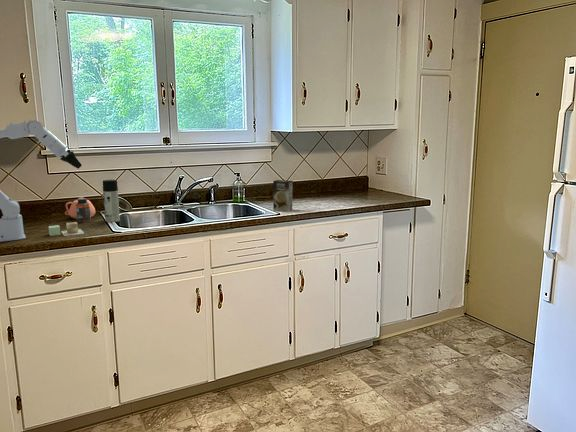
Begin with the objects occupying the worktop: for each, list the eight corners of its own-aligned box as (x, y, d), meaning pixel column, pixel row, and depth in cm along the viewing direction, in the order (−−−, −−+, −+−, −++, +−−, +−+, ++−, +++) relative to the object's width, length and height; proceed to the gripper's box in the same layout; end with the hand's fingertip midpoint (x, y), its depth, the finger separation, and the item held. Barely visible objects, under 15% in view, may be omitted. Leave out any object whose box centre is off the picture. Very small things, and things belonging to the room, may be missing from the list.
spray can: (105, 220, 234) (101, 179, 230) (119, 219, 236) (116, 179, 232) (105, 223, 228) (102, 181, 224) (120, 222, 230) (117, 180, 226)
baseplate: (64, 236, 201) (63, 235, 201) (61, 232, 210) (61, 230, 210) (84, 234, 205) (84, 233, 205) (81, 230, 214) (80, 228, 214)
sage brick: (50, 237, 201) (49, 228, 201) (49, 235, 205) (48, 226, 204) (60, 236, 203) (59, 226, 203) (59, 234, 207) (58, 225, 206)
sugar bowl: (96, 219, 237) (94, 198, 235) (65, 221, 232) (63, 200, 230) (95, 214, 248) (94, 195, 246) (66, 216, 243) (64, 196, 241)
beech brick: (68, 233, 205) (67, 224, 204) (67, 231, 208) (66, 222, 207) (78, 232, 207) (77, 223, 206) (77, 230, 210) (76, 221, 209)
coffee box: (272, 210, 258) (272, 180, 255) (277, 208, 264) (277, 179, 261) (288, 211, 255) (288, 181, 252) (292, 209, 261) (292, 180, 258)
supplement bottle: (92, 220, 234) (90, 197, 232) (88, 223, 228) (86, 199, 226) (80, 220, 234) (78, 197, 232) (75, 223, 228) (73, 199, 226)
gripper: (61, 137, 195) (88, 160, 201) (58, 136, 207) (83, 159, 214) (49, 149, 193) (75, 172, 200) (46, 148, 205) (71, 170, 212)
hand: (78, 166), depth 206 cm, fingers open, 7 cm apart
